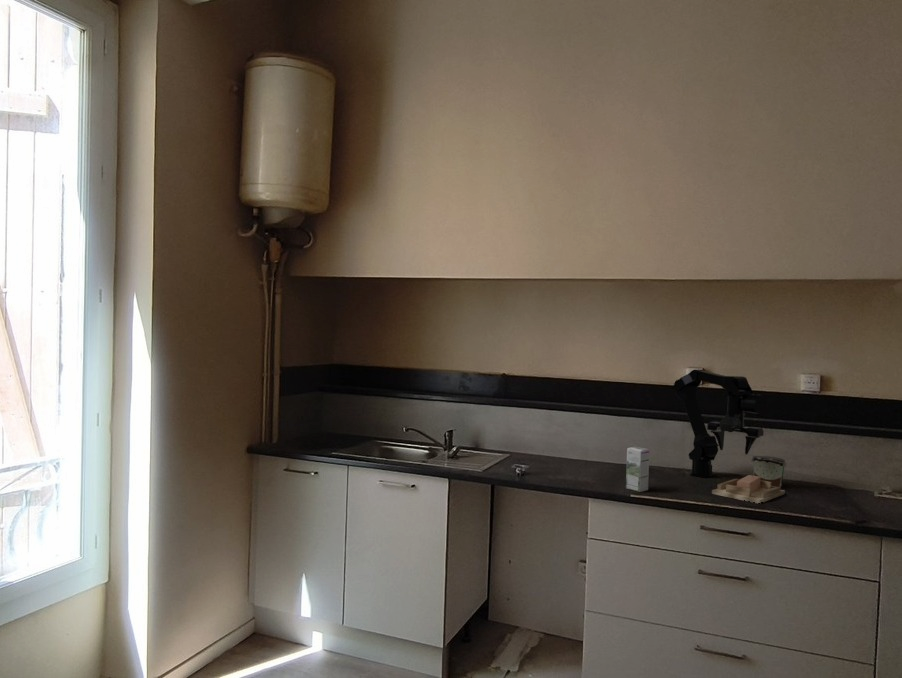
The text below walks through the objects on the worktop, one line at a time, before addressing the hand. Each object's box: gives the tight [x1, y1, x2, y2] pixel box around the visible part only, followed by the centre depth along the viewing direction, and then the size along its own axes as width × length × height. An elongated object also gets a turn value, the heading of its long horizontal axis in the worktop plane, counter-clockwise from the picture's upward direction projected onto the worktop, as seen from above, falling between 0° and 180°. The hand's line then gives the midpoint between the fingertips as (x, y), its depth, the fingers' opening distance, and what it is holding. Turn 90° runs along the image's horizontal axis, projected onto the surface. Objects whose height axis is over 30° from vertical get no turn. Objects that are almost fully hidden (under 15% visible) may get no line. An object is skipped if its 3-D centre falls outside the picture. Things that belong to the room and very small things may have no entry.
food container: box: [750, 455, 787, 488], centre depth 244 cm, size 12×6×10 cm, turn 41°
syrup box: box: [625, 446, 650, 493], centre depth 228 cm, size 6×6×14 cm
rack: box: [711, 478, 786, 504], centre depth 228 cm, size 16×22×4 cm
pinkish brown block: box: [737, 474, 761, 493], centre depth 228 cm, size 4×14×4 cm, turn 140°
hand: (733, 452), depth 242 cm, fingers open, 9 cm apart
